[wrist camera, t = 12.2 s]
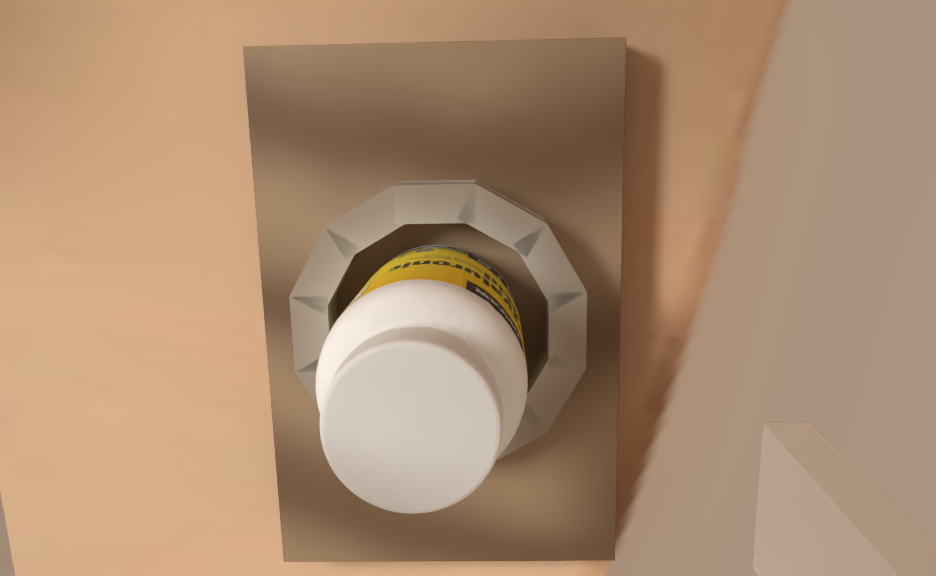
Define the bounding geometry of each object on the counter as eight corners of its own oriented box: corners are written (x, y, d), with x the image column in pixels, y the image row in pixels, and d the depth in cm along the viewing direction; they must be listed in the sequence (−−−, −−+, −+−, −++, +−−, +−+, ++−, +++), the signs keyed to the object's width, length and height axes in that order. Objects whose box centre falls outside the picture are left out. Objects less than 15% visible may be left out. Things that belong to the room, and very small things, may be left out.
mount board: (256, 50, 26) (227, 42, 23) (618, 42, 26) (635, 32, 23) (293, 539, 30) (272, 585, 27) (608, 538, 30) (621, 584, 27)
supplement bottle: (547, 285, 26) (582, 382, 16) (474, 421, 27) (466, 587, 17) (401, 212, 26) (348, 267, 16) (332, 353, 27) (245, 484, 17)
